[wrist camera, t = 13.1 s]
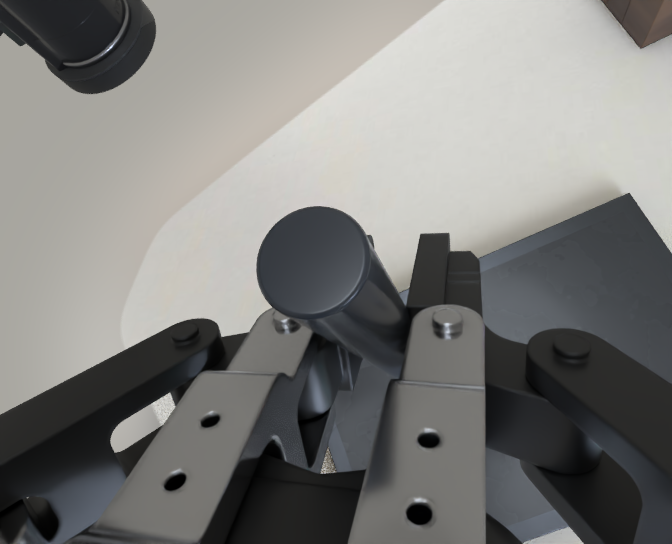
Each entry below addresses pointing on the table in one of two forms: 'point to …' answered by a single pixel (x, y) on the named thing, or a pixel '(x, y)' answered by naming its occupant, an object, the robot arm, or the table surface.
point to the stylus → (334, 285)
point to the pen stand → (643, 18)
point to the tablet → (542, 314)
